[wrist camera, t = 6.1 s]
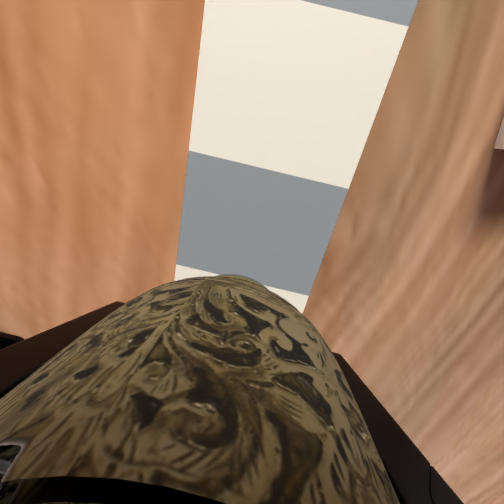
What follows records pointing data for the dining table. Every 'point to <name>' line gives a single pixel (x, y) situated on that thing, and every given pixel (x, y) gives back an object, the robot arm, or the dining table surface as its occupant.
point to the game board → (281, 132)
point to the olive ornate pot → (191, 409)
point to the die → (500, 137)
